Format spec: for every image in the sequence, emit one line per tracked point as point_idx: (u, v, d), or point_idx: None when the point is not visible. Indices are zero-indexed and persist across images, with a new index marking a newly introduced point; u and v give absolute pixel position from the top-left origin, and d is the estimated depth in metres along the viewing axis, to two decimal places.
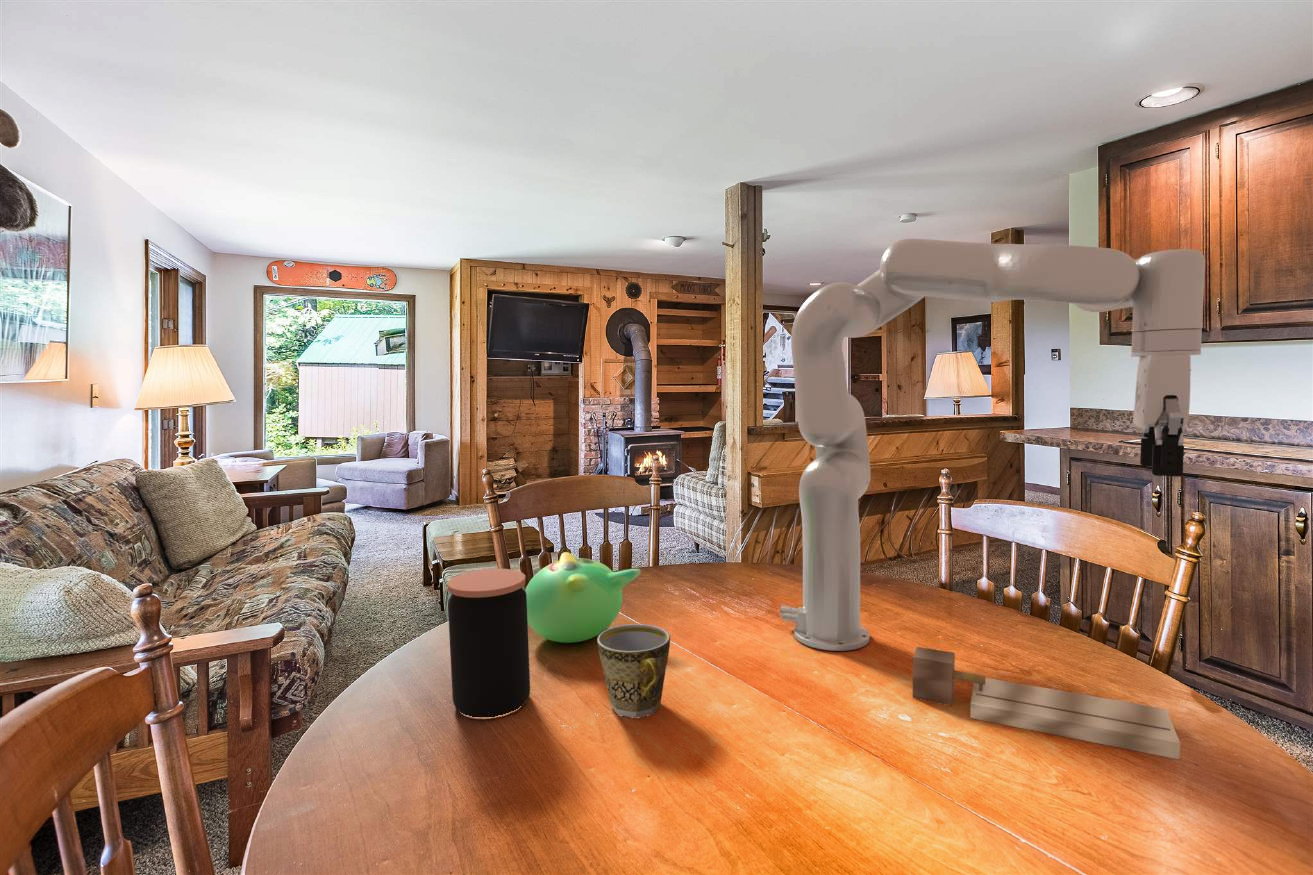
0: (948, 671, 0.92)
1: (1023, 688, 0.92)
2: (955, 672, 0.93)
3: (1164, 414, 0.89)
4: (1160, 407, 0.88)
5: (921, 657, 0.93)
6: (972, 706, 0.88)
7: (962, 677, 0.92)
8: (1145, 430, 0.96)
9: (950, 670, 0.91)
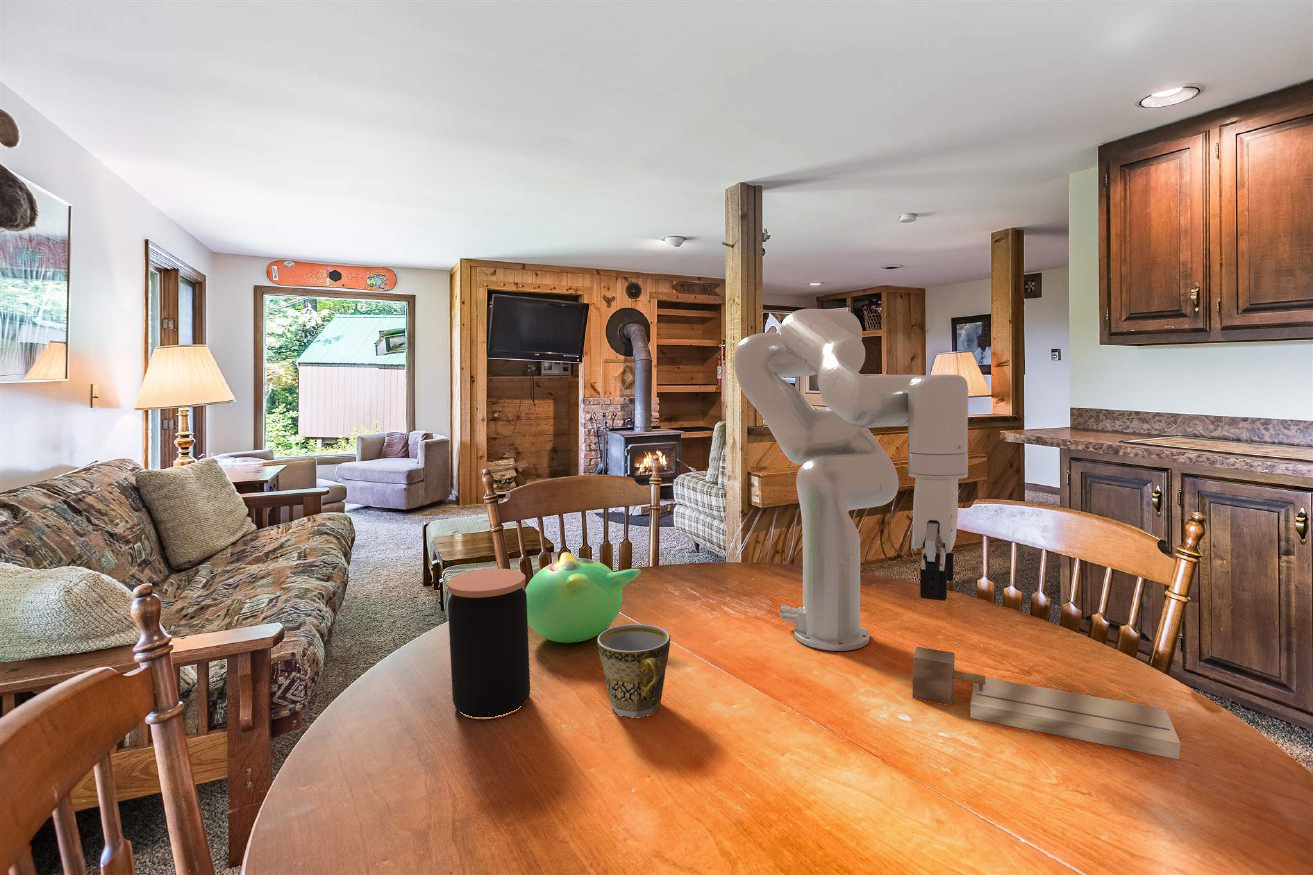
0: (948, 671, 0.92)
1: (1023, 688, 0.92)
2: (955, 672, 0.93)
3: None
4: (924, 531, 0.88)
5: (921, 657, 0.93)
6: (972, 706, 0.88)
7: (962, 677, 0.92)
8: None
9: (950, 670, 0.91)
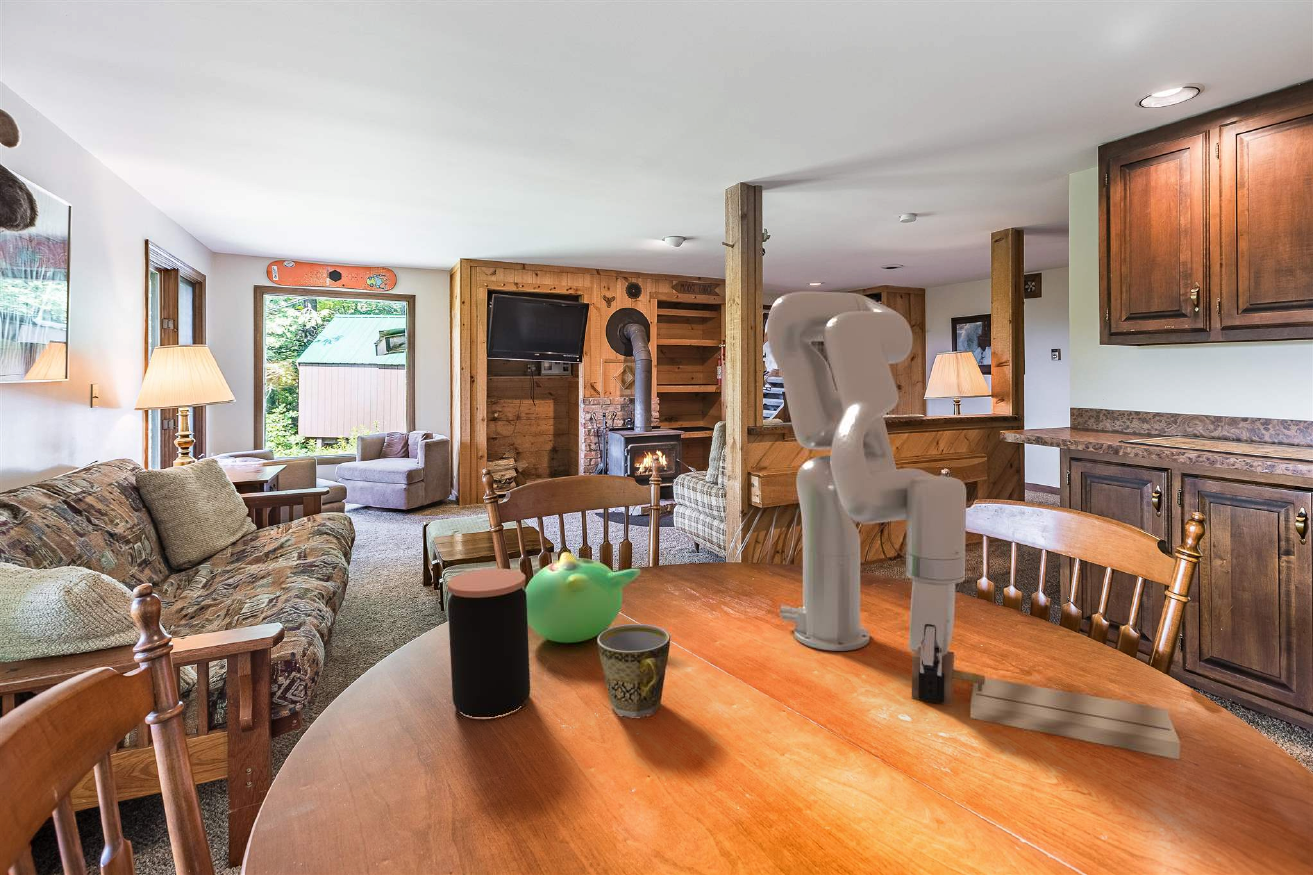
0: (947, 671, 0.92)
1: (1023, 688, 0.92)
2: (954, 672, 0.93)
3: None
4: (921, 634, 0.90)
5: None
6: (972, 706, 0.88)
7: (961, 677, 0.92)
8: None
9: (949, 670, 0.91)
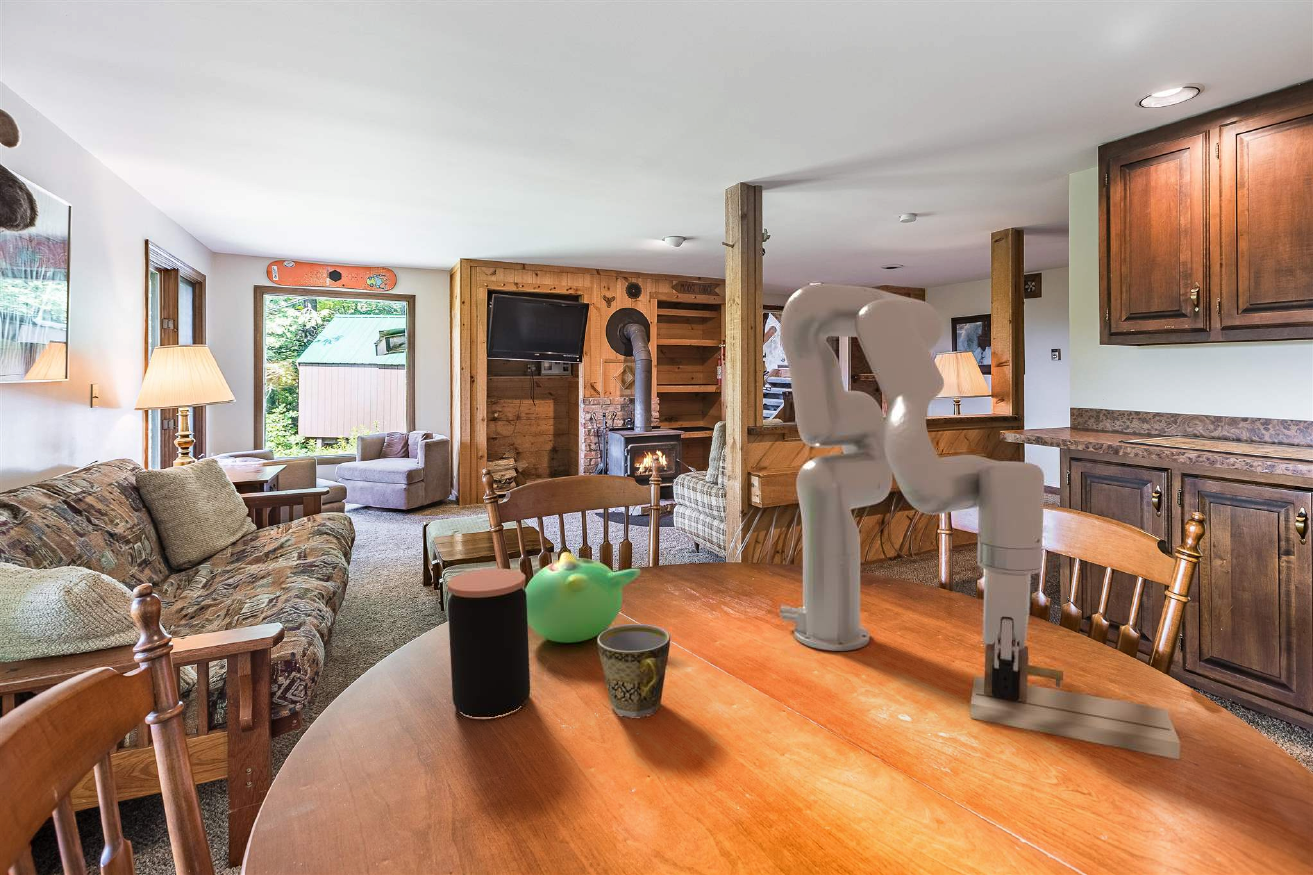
0: (1024, 666, 0.87)
1: None
2: (1030, 667, 0.88)
3: None
4: (997, 627, 0.85)
5: (994, 651, 0.89)
6: (972, 706, 0.88)
7: (1038, 672, 0.88)
8: None
9: (1026, 665, 0.87)
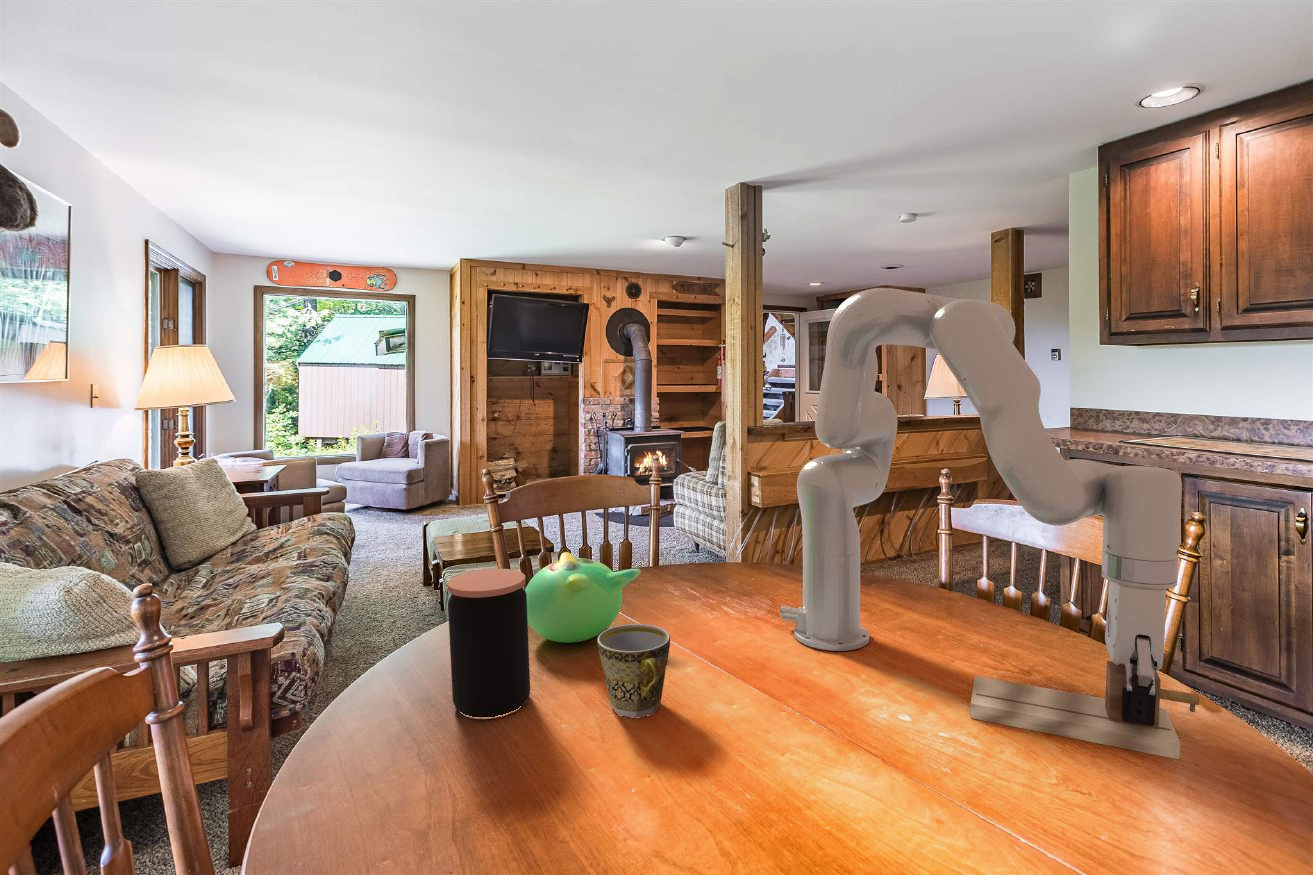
0: (1155, 689, 0.81)
1: (1023, 688, 0.92)
2: (1160, 690, 0.82)
3: None
4: (1132, 646, 0.79)
5: (1120, 673, 0.82)
6: (972, 706, 0.88)
7: (1170, 696, 0.81)
8: None
9: (1158, 688, 0.81)
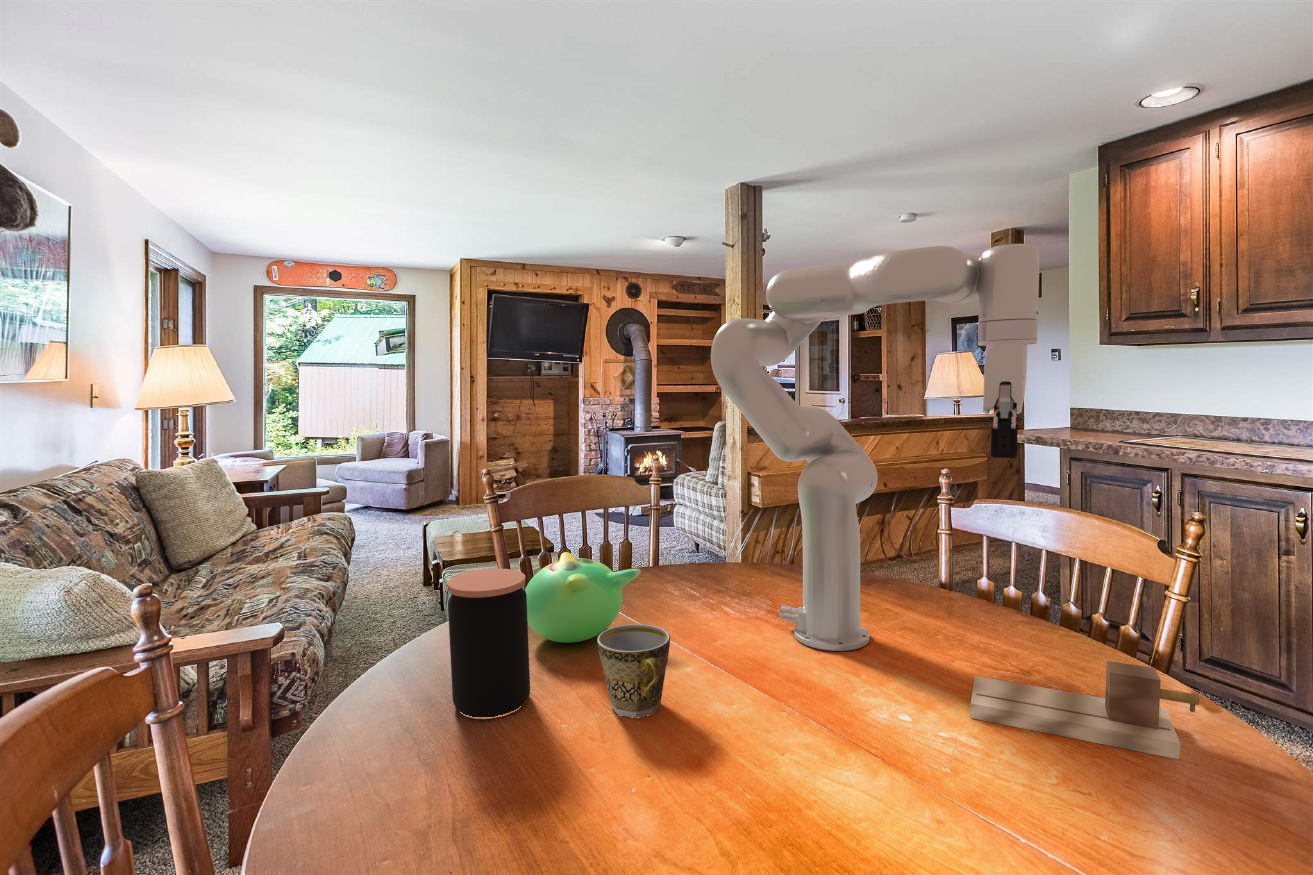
0: (1155, 689, 0.81)
1: (1023, 688, 0.92)
2: (1160, 690, 0.82)
3: None
4: (996, 393, 0.93)
5: (1120, 673, 0.82)
6: (972, 706, 0.88)
7: (1170, 696, 0.81)
8: None
9: (1158, 688, 0.81)
